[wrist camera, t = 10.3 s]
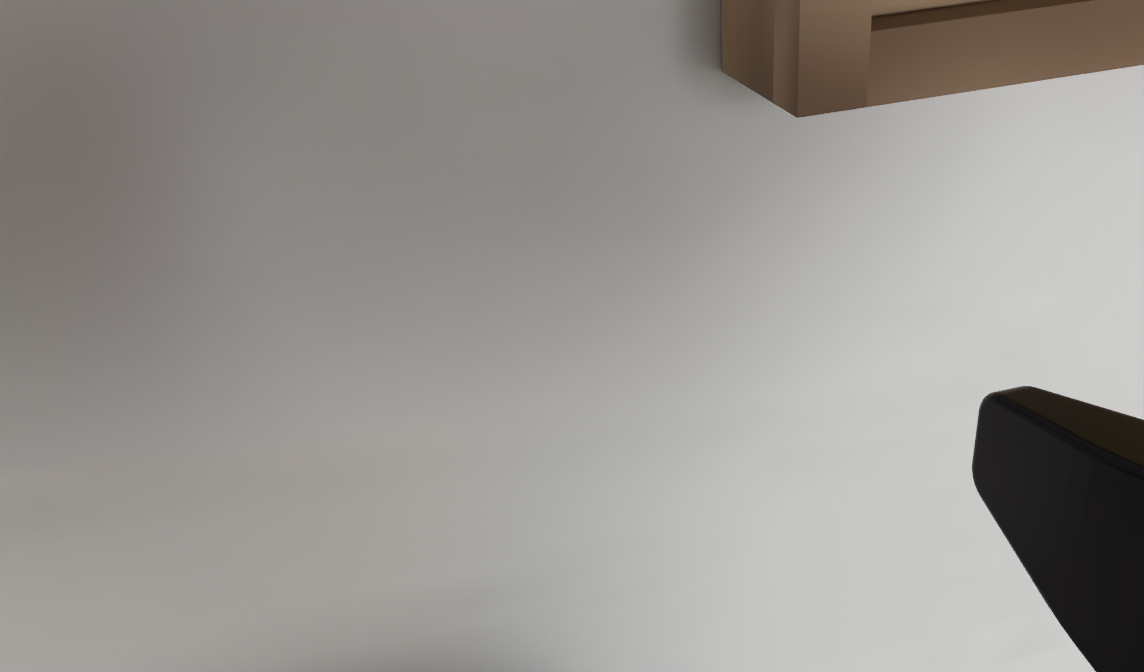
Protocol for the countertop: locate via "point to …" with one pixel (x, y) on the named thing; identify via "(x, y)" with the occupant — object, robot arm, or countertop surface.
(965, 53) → the walnut base
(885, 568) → the countertop surface
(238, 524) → the countertop surface
